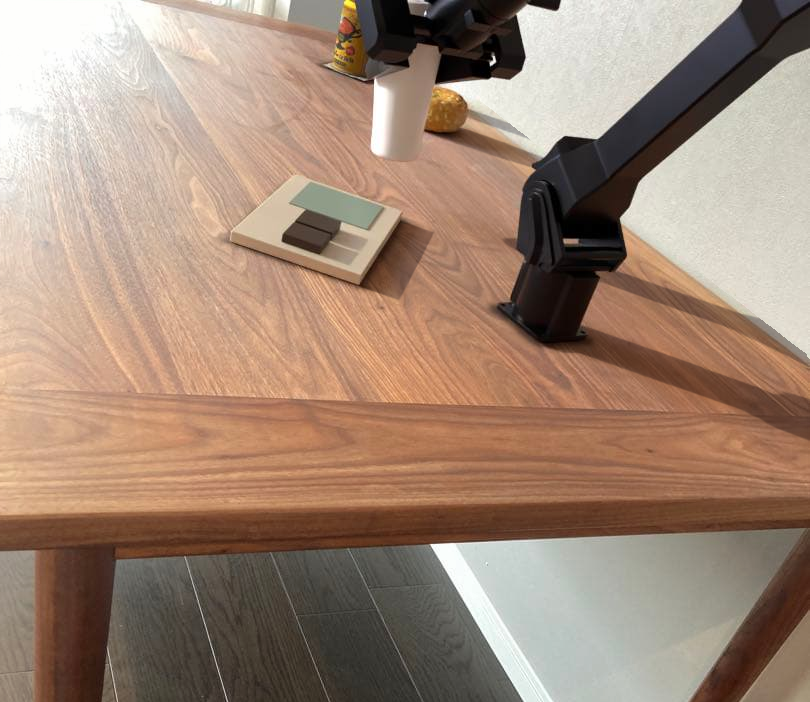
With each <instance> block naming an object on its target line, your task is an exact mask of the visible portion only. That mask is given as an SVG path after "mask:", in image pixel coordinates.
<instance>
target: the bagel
mask: <svg viewBox="0 0 810 702" xmlns="http://www.w3.org/2000/svg"><path fill="white" fill-rule="evenodd" d="M468 105H469V104H468V102H467V101H466V100H465V99H464V97H463V96H462V95H461V94H460V93H458V92H457V91H454V90H452V89H450V88H447V87H440V86H434V89H433V93H432V98H431V102H430V106H429V111H428V115H427V120H426V124H425V129H424V130H426V131H431V132H434V133H455V132H456V131H458V130H459V129H460V128H461V127H462V126H464V124H465V123H466V121H467V119H468V113H469V108H468Z"/></svg>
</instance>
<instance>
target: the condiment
mask: <svg viewBox="0 0 810 702" xmlns="http://www.w3.org/2000/svg"><path fill="white" fill-rule="evenodd" d="M337 31H338V32H337V36H336V41H335V45H334V50H333V56H332V62H329V63H324V64H321V65H322V66H325V67H326V68H329V69H331V70H333V71H336V72H338V73H341V74H344V75H346V76H348V77H351V78H356V79H359V80H361V81H364V82H365V81H370V80H369V79H367V76H366V72H365V68H366V66H367V63H368V60H369V56H368V55H367V54H366V51H365V46H364V42H363V37H362V33H361V29H360V24H359V20H358V15H357V11H356V6H355V2H354V0H345V1H344V2H343V6H342V11H341V15H340V21H339V26H338V30H337Z"/></svg>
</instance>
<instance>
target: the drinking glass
mask: <svg viewBox="0 0 810 702" xmlns="http://www.w3.org/2000/svg"><path fill="white" fill-rule="evenodd" d="M408 5H409V9H410V14H414V15H419V16H424V17H425V15H424V12H425V11H426V10H427V9H428V8H429V5H428V2H424V0H408ZM440 59H441V53H439V50H438V49H436V48H430V47H424V46H418V45H417V47H416V49H415V50H413V53H412V54H411V55H410V56H409V57H408V61H409V65H410V67H409V68H407V69H404V70H401V71H398V72H395V73H392V74H389V75H386V76H383V77H379V78H376V79H373V80H374V83H373V108H372V109H373V110H372V129H371V138H370V139H371V140H370V150H371V152H372V154H374V155H375V156H377V157H378V158H380V159H383V160H386V161H390V162H396V163H409V162H410V163H411V162H413V161H416V160H418V158H419V157H420V155H421V151H422V146H423V145H422V144H423V137H424V133H425V130H426V129H425V124H426V120H427V115H428V111H429V106H430V102H431V98H432V93H433V89H434V87H435V86H436V85H435V80H436V76H437V72H438V68H439V63H440Z"/></svg>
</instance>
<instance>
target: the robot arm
mask: <svg viewBox="0 0 810 702" xmlns="http://www.w3.org/2000/svg"><path fill="white" fill-rule="evenodd" d="M354 2H355V6H356V11H357V15H358V20H359V24H360V29H361V33H362V37H363V42H364V46H365V51H366V54H367V55H368V56H369V60H368V63H367V66H366V68H365V72H366V76H367V79H369V80H368V81H371V80H375V79H376V78H379V77H383V76H386V75H389V74H392V73H395V72H398V71H401V70H404V69H407V68H409V67H410V65H409V61H408V57H409V56H410V55H411V54H412V53H413V50H415V49H416V47H417V45H418V46H424V47H430V48H436V49H438V50H439V53H441V59H440V63H439V68H438V72H437V76H436V80H435V85H434V86H439V85H445V84H446V85H447V84H454V83H463V82H472V81H474V82H475V81H482V80H484V81H488V80H491V79H492V78H493V79H499V80H507V81H510V80H512V79H513V78H514V77H516V76H517V75H519V73H521V72H522V71H523V68H524V66H525V62H526V58H527V56H526V51H525V46H524V42H523V37H522V33H521V28H520V23H519V19H518V15H517V14H518V13H520V12H521V11H522V10H523V9H524V8H525V7H527V6H531V7H535V8H540V9H544V10H548V11H553V12H557V11H559V9H560V8H561V3H562V0H424V2H428V5H429V8H428V9H427V10H426V11H425V12H424V15H425V17H424V16H419V15H414V14H410V9H409V5H408V0H354ZM809 49H810V0H741V2H740V3H739V5H738V6H737V7H736V8H735V9H734V11H732V13H730V14H729V16H727V17H726V18H725V19H724V20H723V21H722V22H721V23H720V24H718V26H717V27H716V28H715V29H713V30H712V32H711V33H709V34H708V35H707V36H706V37H705V38H704V39H703V40H701V42H700V43H699V44H697V46H695V47H694V49H692V50H691V51H690V52H688V54H687V55H685V57H684V58H683V59H681V61H680V62H678V63H677V64H676V65H675V66H674V67H673V68H672V69H671V70H670V71H669V72H668V73H667V74H666V75H665V76H663V77H662V78H661V79H660V81H658V82H657V83H656V84H655V85H654V86H653V87H652V88H650V89H649V91H648V92H646V94H644V95H643V96H642V97H641V98H640V99H639V100H638V101H637V102H636V103H635V104H634V105H633V106H632V107H630V108H629V109H628V111H626V112H625V113H624V114H623V115H622V116H621V117H620V118H619V119H618V120H616V121H615V123H614V124H612V125H611V126H610V127H609V128H608V129H607V130H606V131H605V132H604V133H602V135H601V136H600V137H598V138H591V137H583V136H582V137H581V136H572V135H564V136H562V137H561V138H560V139H559V140H557V141H556V142H554V144H553V146H552V147H551V149H549V152H547V153H546V155H545V156H544V157H542V158H541V159H540V160H538V161H535V162H532V163H531V168H532V169H533V170H534V171H532V173H530V175H529V176H528V178H526V180H525V182H524V184H523V186H522V188H521V191H522V195H521V197H520V198H521V199H520V206H519V215H518V227H517V238H516V246H515V247H516V251H517V252H518V253H519V254H521V255H522V256H523V258H524V259H523V261H522V263H521V266H520V269H519V271H518V274H517V276H516V280H515V282H514V285H513V288H512V290H511V293H510V298H509V302H508V301H507V302H498V303H497V306H496V309H497V310H498V311H499V312H500V313H502V314H503V315H504V316H505V317H506V318H508V319H509V320H510V321H512V322H513V323H514V324H515V325H517V327H519V328H520V329H521V330H522V331H524V332H525V333H526V334H527V335H529V336H530V337H531V338H532V339H533V340H535V341H536V342H540V343H548V342H550V343H551V342H563V341H576V340H586V339H587V337H588V335H589V333H588V332H587V331H586V330H584V329H583V328H582V327H581V325H582V322H583V320H584V317H585V315H586V313H587V310H588V309H589V306H590V303H591V300H592V298H593V296H594V294H595V291H596V289H597V287H598V284H599V282H600V280H601V275H598V274H597V272H598V273H600V272H602V273H603V272H608V273H615V272H616V271H617V270H618V269H619V267H620V266H621V265H622V264H623V263H624V261H625V260H626V259H627V258H628V252H627V251H628V250H627V247H626V241H625V236H624V232H623V227H622V222H621V218H622V216H623V215H624V214H625V213H626V212H627V211H628V210H629V209H630V207H631V205H632V203H633V199H634V197H635V194H636V192H637V188H638V186H639V183H641V181H642V180H643V178H645V177H646V176H647V175H648V174H649V173H651V172H652V171H653V170H654V169H655V168H656V167H657V166H659V165H660V164H662V162H664V161H665V160H666V159H667V158H668V157H670V156H671V155H672V154H673V153H674V152H676V151H677V150H678V149H679V148H680V147H681V146H683V145H684V144H685V143H686V142H687V141H689V140H690V139H691V138H692V137H693V136H695V135H696V133H698V132H699V131H700V130H702V129H703V128H704V127H705V126H707V125H708V124H709V123H710V122H711V121H713V120H714V119H715V118H716V117H718V115H720V114H722V112H723V111H724V110H725V109H727V108H728V107H729V106H730V105H731V104H733V103H734V102H735V101H737V99H739V98H740V97H741V96H742V95H743V94H745V93H746V92H747V91H748V90H749V89H750V88H752V87H753V86H754V85H755V84H756V83H758V82H759V81H760V80H761V79H762V78H763V77H764V76H766V75H767V74H768V73H769V72H771V71H772V70H773V69H774V68H775V67H777V66H778V65H779V64H780V63H781V62H783V61H784V60H786V59H788V58H789V57H791V56H795V55H796V54H800V53H802V52H804V51H807V50H809ZM494 60H495V61H494ZM492 62H493V63H492ZM491 63H492V64H491ZM565 240H577V243H568V242H567V243H566V242H564V241H565Z"/></svg>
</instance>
